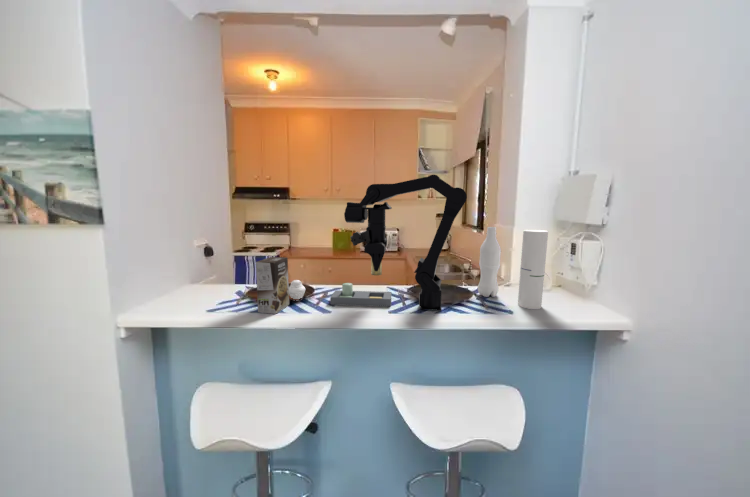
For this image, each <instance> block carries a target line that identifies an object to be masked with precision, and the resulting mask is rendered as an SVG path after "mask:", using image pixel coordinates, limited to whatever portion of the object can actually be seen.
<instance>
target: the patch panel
mask: <svg viewBox="0 0 750 497" xmlns="http://www.w3.org/2000/svg"><path fill="white" fill-rule="evenodd" d="M329 298H330V299H329V300H330V305H332V306H333V305H334V306H335V305H336V306H361V307H362V306H366V307H391V305H392V291H369V290H368V291H367V290H353V297H352V296H342V290H334V291H333V293H332V294H331V296H330V297H329Z"/></svg>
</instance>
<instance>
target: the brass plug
mask: <svg viewBox="0 0 750 497" xmlns="http://www.w3.org/2000/svg"><path fill="white" fill-rule="evenodd" d="M370 267H371V268H370V271H371V272H370V274H371V276H381V275H383V274H382V271H383V270H382V267H383V266H382V261H381V264H380V266H379V269H378V271H374V267H373V262H372V258H371V257H370Z"/></svg>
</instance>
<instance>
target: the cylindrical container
mask: <svg viewBox="0 0 750 497" xmlns="http://www.w3.org/2000/svg"><path fill="white" fill-rule="evenodd" d="M548 239H549V231H548V230H543V229H523V233H522V246H521V256H520V257H521V258H520V269H519V280H518V282H519V283H518V295H517V306H519V307H520V308H524V309H529V310H539V309H541V308H542V305H543V304H542V303H543V293H544V283H545V282H544V281H545V271H546V259H547V250H548V249H547V248H548Z"/></svg>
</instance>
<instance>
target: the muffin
mask: <svg viewBox="0 0 750 497" xmlns="http://www.w3.org/2000/svg"><path fill="white" fill-rule="evenodd" d="M305 292H306V287H305V286H304V285H303V283H302V281H301V280H299V279H293V280H292V281H291V283H290V285H289V298H293V299H300V298H302V299H303V297H304V295H305Z"/></svg>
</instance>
